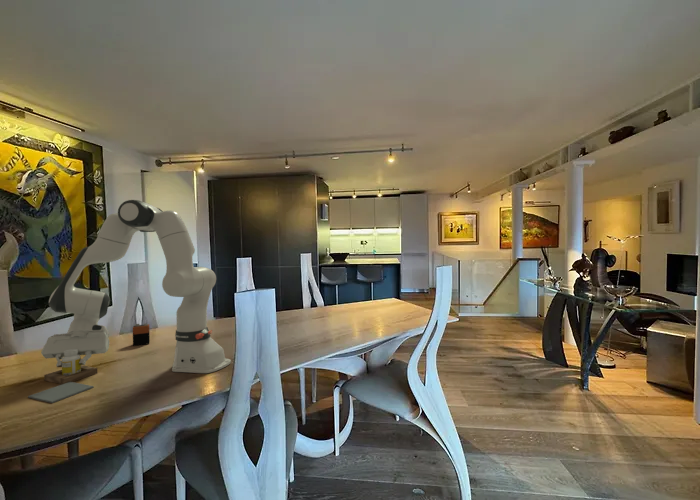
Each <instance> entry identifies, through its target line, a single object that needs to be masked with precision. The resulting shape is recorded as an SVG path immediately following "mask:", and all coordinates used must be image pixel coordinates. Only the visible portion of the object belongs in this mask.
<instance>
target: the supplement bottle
mask: <svg viewBox="0 0 700 500" xmlns="http://www.w3.org/2000/svg"><path fill="white" fill-rule="evenodd" d="M77 353H78V349H70V350H66V351H64V356H65V357H63V358H62V359H61V361H62V367H61V370H62V375H65V376H68V375H72V374H75V373H78V372H81V365H80V364H79V362H80V359H82V358H81V355H77Z"/></svg>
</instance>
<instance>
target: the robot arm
mask: <svg viewBox="0 0 700 500" xmlns="http://www.w3.org/2000/svg"><path fill="white" fill-rule="evenodd" d="M137 232H141V233H155V234H156V235H157V238H158V241H159V243H160V246H161V248H162V251H163V254H164V257H165V262H166V269H165V270H166V272H165V275H164V277H163V279H162V283H161V287H162V290H163V291H164V293H165V294H166V295H168V296H170V297H175V298H182V301H181V303H180V305H179V307H178V308H177V310H176V312H175V313H176V314H175V315H176V329H175V334H174V335H175V336H174V337H175V340H176V343H175V349H174V357H173V359H174V360H173V363H172V368H171V371H172V372H174V373H191V374H192V373H195V374H209V373H210V374H211V373H214V372H216V371H219V370H221V369H224V368H225V367H227V366H229V365H230V364H231V363H232V360H231V359H230V358H226V357H225V356H226V355H225V350H224V347H222V346H221V345H220V344H218V342H216V340H215V339H213V338H212V337H211V334H212V332H213V330H212V329H211V330H210V329H209V328H208V325H207V324H208V319H207V318H208V316H207V315H208V312H207V311H208V304H209V300H210V295H211V293H212V290H213V288H214V287H215V285H216V282H217V275H216V273H215V271H213V270H212V269H211V268H210V267H209V268H208V267H206V266H205V267H204V266H194V263H193V256H194V254H195V251H196V249H195V246H194V244H193V240H192V238H191V236H190V233H189V231H188V228H187V226H186V225H185V222H184V221H183V219H182V218H181V216H180V214H179V213H178V212H176V211H174V210H164V211H163V210H162V209H161V208H159V207H156V206H154V205H153V204H150V203H147V202H145V201H141V200H138V199H128V200H125V201H123V202H122V203H121V204H120V205H119V207H118V210H117V212H114V213H111V214H109V215H108V216H107V217H106V219H105V220H104V222H103V224H102V226H101V227H100V230H99V232H98V235H97V237H96V239H95V241H94V242H93V243H92V244H91V245H89V246H86V247H84V248H82V249H81V250H80V251H79V252H78V254H77V256H76V257H75V259H74V260H73V261H72V263H71V265H70V267H69V268H68V270H67V271H66V273H65V275H64V277H63V278H62V280H61V281H60V283H59V285H57V287H56V288H55V289H54V290H53V292H52V293H51V295H50V296H49V299H48V306H49V307H50V309H51V310H52V311H54V312H55V313H62V314H67V313H68V314H73V319H72V321H71V323H70V324H69V328H68V330H67V333H66V332H65V333H54V334H52V335H51V336H49V337H48V338H47V339H46V342H45V345H43V348H42V349H41V356H43V358H45V359H54V358H55V359H56V364H55V365H56V367H57V369H58V368H62V358H63V357H65V356H64V351H66V350H70V349H78V353H77V355H80V356H84V357H83V358H81V359H80V362H79V364H80V365H82V366H86V363H87V361H88V360H89V359H90V358H91V357H92V355H97V354H99V355H100V354H105V353H106V352H108V351H109V347H110V339H109V336H110V333H109V330H108V329H107V327H106V326H105V325H102V324H98V323H99V321H100V320H101V319H102V318H104V317H105V316H106V315H107V313H108V309H109V306H110V303H111V298H110V296H109V295H108V294H107V293H106V292H102V291H98V290H90V289H85V288H79V287H76V286H75V283H76V281H77V280H78V278H79V277H80V275H81V273H82V272H83V270H84V269H85V268H86V267H87V266H90V265H94V264H100V263H101V264H103V263H104V264H105V263H112V262H115V261H119V260H121V259H122V258H123V257H125V256H126V253H127V252H128V250H129V247H130V244H131V241H132V238H133V237H134V234H135V233H137Z"/></svg>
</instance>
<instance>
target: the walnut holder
mask: <svg viewBox="0 0 700 500" xmlns="http://www.w3.org/2000/svg"><path fill="white" fill-rule="evenodd" d="M98 373H99V372H98V367H94V366H93V367H92V366H88V365H87V366H86V365H81V372H78V373H75V374H72V375H68V376H65V375H62V369H60V370H57V371H53V372H50V373H46V374H44V375H43V376H44V377H43V378H44V380H43V381H46V382H50V383H55V384H59V385H62V384H65V383H68V382H76V381H78V380H82V379H85V378H88V377H90V376H93V375H96V374H98Z"/></svg>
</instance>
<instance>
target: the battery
mask: <svg viewBox="0 0 700 500" xmlns="http://www.w3.org/2000/svg"><path fill="white" fill-rule="evenodd" d="M150 335H151V334H150V324H149V323H147V322H146V323H143V324H140V323H135V324H134V325H133V326H132V346H133V347H136V346H145V345H149V344H150V343H151V342H150V341H151V340H150Z"/></svg>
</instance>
